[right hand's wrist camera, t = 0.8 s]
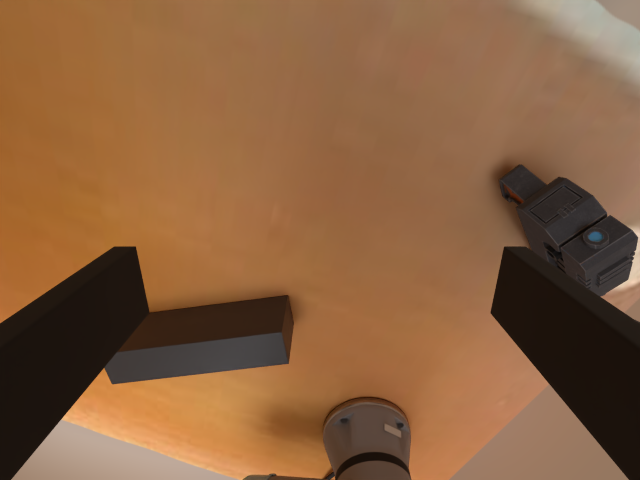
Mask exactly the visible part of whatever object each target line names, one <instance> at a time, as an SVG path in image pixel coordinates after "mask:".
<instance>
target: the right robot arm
mask: <svg viewBox="0 0 640 480" xmlns="http://www.w3.org/2000/svg"><path fill="white" fill-rule="evenodd" d="M148 314H149V308H148V303H147V299H146V294H145V289H144V284H143V279H142V274H141V270H140V265H139V260H138V255H137V250H136V247H113V248H111V249H110V250H109V251H107V252H106V253H104V254H103V255H101V256H100V257H98V258H97V259H95V260H94V261H92V262H91V263H89V264H88V265H86V266H85V267H83V268H82V269H80V270H79V271H77V272H76V273H74V274H73V275H71V276H70V277H68V278H67V279H66V280H64V281H63V282H61V283H60V284H58V285H57V286H55V287H54V288H52V289H51V290H49V291H48V292H46V293H45V294H43V295H42V296H40V297H39V298H37V299H36V300H34V301H33V302H31V303H30V304H28V305H27V306H25V307H24V308H23V309H21V310H20V311H18V312H17V313H15V314H14V315H12V316H11V317H9V318H8V319H6V320H5V321H3V322H2V323H0V480H11V479H12V478H13V477H14V475H15V474H16V473H17V472H18V471H19V469H20V468H21V467H22V466H23V465H24V463H25V462H26V461H27V460H28V459H29V457H30V456H31V455H32V454H33V453H34V451H35V450H36V449H37V448H38V446H39V445H40V444H41V443H42V442H43V441H44V439H45V438H46V437H47V436H48V435H49V433H50V432H51V431H52V430H53V429H54V427H55V426H56V425H57V424H58V422H59V421H60V420H61V419H62V418H63V416H64V415H65V414H66V413H67V412H68V410H69V409H70V408H71V407H72V406H73V404H74V403H75V402H76V401H77V400H78V398H79V397H80V396H81V395H82V394H83V392H84V391H85V390H86V389H87V388H88V386H89V385H90V384H91V383H92V382H93V380H94V379H95V378H96V377H97V376H98V374H99V373H100V372H101V371H102V370H103V368H104V367H105V366H106V365H107V364H108V362H109V361H110V360H111V359H112V358H113V356H114V355H115V354H116V353H117V352H118V350H119V349H120V348H121V347H122V345H123V344H124V343H125V342H126V341H127V339H128V338H129V337H130V336H131V335H132V333H133V332H134V331H135V330H136V329H137V327H138V326H139V325H140V324H141V323H142V321H143V320H144V319H145V318H146V317H147V315H148ZM491 314H492V315H493V317H494V318H495V319H496V320H497V321H498V323H499V324H500V325H501V326H502V327H503V329H504V330H505V331H506V332H507V333H508V335H509V336H510V337H511V338H512V339H513V341H514V342H515V343H516V344H517V345H518V347H519V348H520V349H521V350H522V352H523V353H524V354H525V355H526V356H527V358H528V359H529V360H530V361H531V362H532V364H533V365H534V366H535V367H536V368H537V370H538V371H539V372H540V373H541V374H542V376H543V377H544V378H545V379H546V380H547V382H548V383H549V384H550V385H551V386H552V388H553V389H554V390H555V391H556V392H557V394H558V395H559V396H560V397H561V398H562V400H563V401H564V402H565V403H566V404H567V406H568V407H569V408H570V409H571V410H572V412H573V413H574V414H575V415H576V416H577V418H578V419H579V420H580V421H581V422H582V424H583V425H584V426H585V427H586V428H587V430H588V431H589V432H590V433H591V435H592V436H593V437H594V438H595V439H596V440H597V442H598V443H599V444H600V445H601V447H602V448H603V449H604V450H605V451H606V453H607V454H608V455H609V456H610V457H611V459H612V460H613V461H614V462H615V463H616V465H617V466H618V467H619V468H620V469H621V471H622V472H623V473H624V474H625V475H626V477H627V478H628V479H629V480H640V322H638V321H636V320H634V319H632V318H631V317H629V316H628V315H626V314H625V313H623V312H622V311H620V310H619V309H617V308H616V307H615V306H613V305H612V304H610V303H609V302H607V301H606V300H604V299H603V298H601V297H600V296H598V295H597V294H595V293H594V292H592V291H591V290H589V289H588V288H586V287H585V286H583V285H582V284H580V283H579V282H577V281H576V280H574V279H573V278H572V277H570V276H569V275H567V274H566V273H564V272H563V271H561V270H560V269H558V268H557V267H555V266H554V265H552V264H551V263H549V262H548V261H546V260H545V259H543V258H542V257H540V256H539V255H537V254H536V253H534V252H533V251H531V250H530V249H529V248H527V247H504V250H503V255H502V260H501V265H500V270H499V274H498V279H497V284H496V289H495V294H494V299H493V303H492V308H491ZM323 441H324V446H325V449H326V452H327V455H328V458H329V460H330V463H331V466H332V469H333V472H332V473H331V474H330V475H328V476H327V477H326V478H325V479H316V478H302V477H288V476H276V474H269V475H249V476H247V477H246V478H244V479H243V480H330V479H331V478H333V477H334V476H335V480H411V477H410V473H409V456H410V443H411V434H410V427H409V424H408V420H407V418H406V416H405V414H404V413H403V412H402V410H401V409H399V408H398V407H397V406H396V405H394V404H392V403H390V402H388V401H385V400H382V399H377V398H359V399H354V400H350V401H347V402H345V403H343V404H341V405H339V406H338V407H336V408H335V409H334V410H333V411H332V412H331V413H330V414H329V415H328V417H327V418H326V420H325V422H324V426H323Z"/></svg>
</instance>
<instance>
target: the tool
mask: <svg viewBox="0 0 640 480" xmlns="http://www.w3.org/2000/svg"><path fill="white" fill-rule="evenodd" d="M499 183H500V187H501V192H502V196H503V197H504V198H505V199H506V200H507V201H508V202H509V203H510V202H511V201H513V202H514V203H516V204H517V205H518V207H516V210H517V213H518V215H519V218H520V220H521V223H522V226H523V228H524V231H525V233H526V236H527V238H528V241H529V244H530V246H531V249H532V251H533V252H534V253H536V254H537V255H539V256H540V257H542V258H543V259H545V260H546V261H548V262H549V263H551V264H552V265H554V266H555V267H557V268H558V269H560V270H561V271H563V272H564V273H566V274H567V275H569V276H570V277H572V278H573V279H574V280H576V281H577V282H579V283H580V284H582V285H583V286H585V287H586V288H588V289H589V290H591V291H592V292H594V293H595V294H597V295H598V296H603V295H605V294H606V293H607V292H609V291H610V290H612V289H613V288H615V287H617V286H618V285H620V284H622V283H623V282H625V281H627V280H628V278H629V274H630V271H631V267H632V263H633V262H632V260H633V259H634V257H632V256H634V255H635V252H634V251H635V250H636V246H637V241H638V237H637V235H636V234H635V233H634V232H633V230H631V229H630V228H628V227H627V226H625V225H624V224H622V223H621V222H620V221H618V220H617V219H615V218H614V217H612V216H611V215H609V216H608V217H607V212H606V211H605V210H604V208H603V207H602V206H601V205H600V203H599V202H598V201H597V200H596V199H595V197H594V196H593V195H591V194H590V193H588V192H587V191H585V190H584V189H582V188H581V187H579V186H578V185H576V184H574V183H573V182H571V181H570V180H568V179H567V178H562V177H558V178H556V179H555V180H554V181H552V182H551V183H549V184H548V185H546V184H545V183H544V182H543V181H541V180H540V179H539V178H538V177H536V176H535V175H534V174H533V173H531V172H530V171H529V170H528V169H527V168H525V167H524V166H523V165H520V164H519V165H518V166H517V167H515V168H514V169H513V170H511V171H510V172H509V173H507V174H506V175H505V176H503V177H502V178H501V179H499Z"/></svg>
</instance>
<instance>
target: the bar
mask: <svg viewBox="0 0 640 480" xmlns="http://www.w3.org/2000/svg"><path fill="white" fill-rule="evenodd" d="M293 325H294V322H293V317H292V312H291V307H290V303H289V298H288V295H286V296H278V297H270V298H262V299H255V300H247V301H239V302H231V303H223V304H215V305H208V306H200V307H192V308H184V309H176V310H168V311H161V312H153V313H149V314H148V315H147V317H146V318H145V319H144V320H143V321H142V323H141V324H140V325H139V326H138V327H137V329H136V330H135V331H134V332H133V333H132V335H131V336H130V337H129V338H128V339H127V341H126V342H125V343H124V344H123V345H122V347H121V348H120V349H119V350H118V352H117V353H116V354H115V355H114V356H113V358H112V359H111V360H110V361H109V362H108V364H107V365H106V366H105V367H104V368H105V370H106V372H107V374H108V376H109V379H110V381H111V383H112V384H119V383H127V382H136V381H144V380H153V379H161V378H170V377H179V376H187V375H196V374H204V373H213V372H221V371H230V370H238V369H247V368H256V367H264V366H273V365H281V364H289V358H290V349H291V341H292V333H293Z"/></svg>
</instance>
